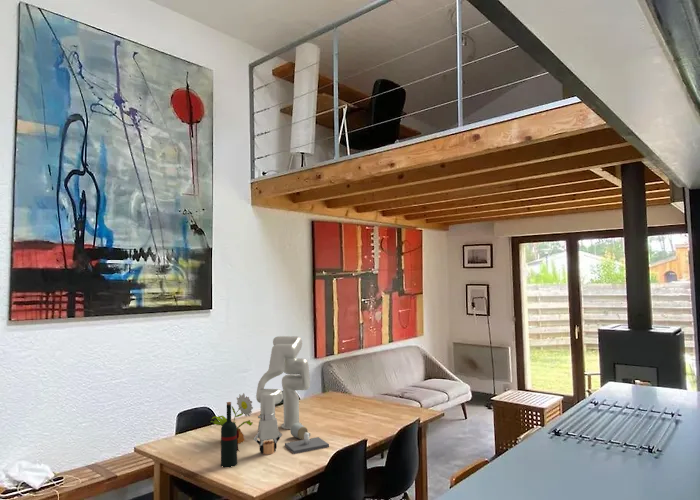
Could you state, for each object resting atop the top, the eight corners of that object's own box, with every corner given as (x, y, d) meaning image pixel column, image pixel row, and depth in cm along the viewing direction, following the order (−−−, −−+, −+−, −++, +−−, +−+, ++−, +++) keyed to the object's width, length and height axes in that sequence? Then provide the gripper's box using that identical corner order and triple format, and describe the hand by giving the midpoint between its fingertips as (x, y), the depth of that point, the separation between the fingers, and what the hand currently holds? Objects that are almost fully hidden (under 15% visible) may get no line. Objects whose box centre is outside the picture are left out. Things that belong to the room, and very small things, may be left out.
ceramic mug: (298, 441, 269) (298, 427, 270) (290, 437, 275) (290, 424, 276) (313, 437, 276) (313, 423, 277) (305, 434, 282) (305, 420, 283)
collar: (260, 451, 253) (260, 442, 253) (271, 449, 256) (271, 440, 256) (264, 455, 248) (264, 445, 248) (275, 453, 250) (275, 443, 251)
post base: (284, 446, 261) (284, 432, 262) (318, 439, 271) (318, 426, 271) (294, 453, 249) (293, 439, 249) (329, 447, 258) (328, 432, 259)
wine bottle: (244, 462, 239) (243, 400, 241) (228, 468, 230) (228, 405, 232) (233, 459, 243) (233, 398, 245) (217, 465, 235) (217, 403, 237)
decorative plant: (262, 439, 274) (261, 394, 276) (230, 451, 254) (230, 403, 256) (229, 431, 289) (229, 389, 290) (196, 443, 269) (196, 398, 270)
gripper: (253, 420, 246) (254, 456, 244) (285, 415, 254) (286, 450, 252) (249, 417, 252) (249, 452, 251) (281, 412, 260) (281, 446, 259)
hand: (268, 451), depth 252 cm, fingers closed on collar, 6 cm apart
